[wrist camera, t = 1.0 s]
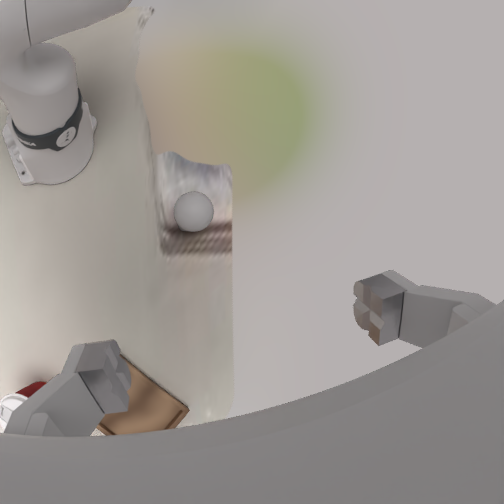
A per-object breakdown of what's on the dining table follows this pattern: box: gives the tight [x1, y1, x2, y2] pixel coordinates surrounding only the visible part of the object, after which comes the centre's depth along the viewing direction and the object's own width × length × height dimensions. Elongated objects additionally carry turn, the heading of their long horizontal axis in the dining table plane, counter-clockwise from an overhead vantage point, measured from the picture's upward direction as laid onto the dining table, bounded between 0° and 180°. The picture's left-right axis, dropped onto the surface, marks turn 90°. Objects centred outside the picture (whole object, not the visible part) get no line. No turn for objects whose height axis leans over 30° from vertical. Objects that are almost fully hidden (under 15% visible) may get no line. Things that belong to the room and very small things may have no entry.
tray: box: [96, 355, 190, 436], centre depth 41 cm, size 16×13×2 cm
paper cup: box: [0, 382, 46, 430], centre depth 30 cm, size 8×8×14 cm
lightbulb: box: [174, 191, 214, 232], centre depth 47 cm, size 6×6×11 cm
